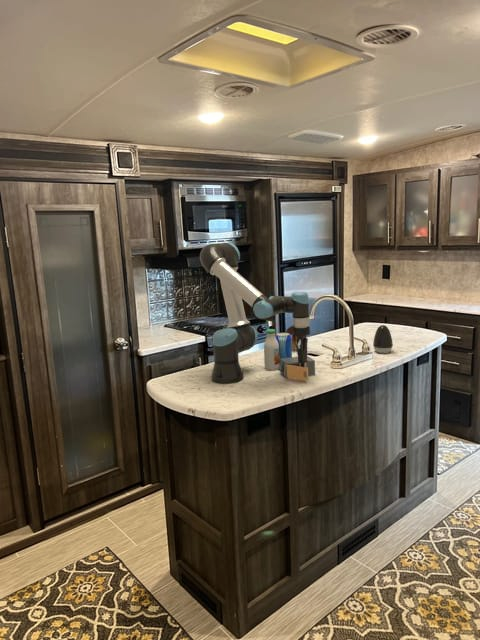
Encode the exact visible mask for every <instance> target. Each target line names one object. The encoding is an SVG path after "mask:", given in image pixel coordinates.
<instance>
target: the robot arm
mask: <svg viewBox="0 0 480 640" xmlns="http://www.w3.org/2000/svg"><path fill="white" fill-rule="evenodd" d="M240 259H241V253H240V251H239V249H238V247H237V246H236V245H235V244H234V243H231V242H218V243H209V244H207V245H205V246H204V247H202V249H201V250H200V254H199V260H200V263H201V266H202V267H203V268H204V269H205V270H206V271H207V272H208V273H209V274H210V275H212V276H215V277H217V278H218V279H219V281H220V287H221V291H222V295H223V300H224V304H225V309H226V314H227V318H228V325H227V327H226V328H223V329H218V330H216V331H215V332H214V333H213V335H212V347H213V360H214V361H213V363H214V364H213V368H212V371H211V372H212V373H211V381H212V382H214V383H216V384H233V383H238V382H240V381H242V380H243V379H244V373H243V372H244V371H243V369H242V367H241V364H240V362H239V358H240V357H239V354H240V353H242V352H245V351H249V350H250V349H252V348H253V347H255V346H256V344H257V342H258V332H257V330H256V328H254V326H252V325H251V322H250V321H249V320H248V319H247V316H246V312H245V311H246V310H245V307H244V302H245V303H247V304H248V305H249V306H250V307H251V308H253V314H254V315H255V317H256V318H258V319H269V318H271V317H273V316H276V315H280V314H282V313H283V314H284V313H286V314H287V313H288V314H292V326H294V327H293V334H294V335H295V336H298V339H297V344H296V348H297V351H296V353H297V357H298V363H300V367H306V362H308V360H306V359H307V356H308V340H309V339H308V338H307V336H309V335H310V334H311V327H310V322H311V320H312V319H311V318H310V305H309V304H310V300H309V293H308V292H306V291H294V292H292V293H291V296H285V295H284V296H282V295H271V296H269V298H268V297H267V296H266V295H264V294H263V293H262V292H261V291H259V289H257V288H256V287H255V286H254V285H253V284H251V283H250V282H249V281H248V280H247V279H246V278H245V277H243V276H242V275H241V274H240V273H239V272H237V271H238V269H239V265H238V263H239V262H240ZM243 300H244V301H243Z"/></svg>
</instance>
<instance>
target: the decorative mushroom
mask: <svg viewBox="0 0 480 640" xmlns="http://www.w3.org/2000/svg"><path fill="white" fill-rule="evenodd" d="M293 327H294V326H293V325H291V326H290V327H287V329H286V330H285V332H284V333H289V335H290V336H291V341H292V351H294V352H297V348H296V344H297V339H298V336H295V335H294V334H293Z"/></svg>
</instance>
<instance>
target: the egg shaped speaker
mask: <svg viewBox="0 0 480 640" xmlns="http://www.w3.org/2000/svg"><path fill="white" fill-rule="evenodd" d="M393 344H394V343H393V338H392V334H391V331H390V329H389V327H388V326H387V325H385V324H381V325H379V326H378V327H377V329H376V331H375V334H374V338H373V343H372V346H373V349H374V350H375V352H377V353H379V354H388V353H390V352H391V351H392V349H393Z"/></svg>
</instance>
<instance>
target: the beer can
mask: <svg viewBox="0 0 480 640" xmlns="http://www.w3.org/2000/svg"><path fill="white" fill-rule="evenodd" d="M275 337H276V339H277V341H278V344H279V355H280V359H282V358H291V357H293V350H292V336H291V335H289V333H285V332H278V333H276V335H275Z"/></svg>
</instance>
